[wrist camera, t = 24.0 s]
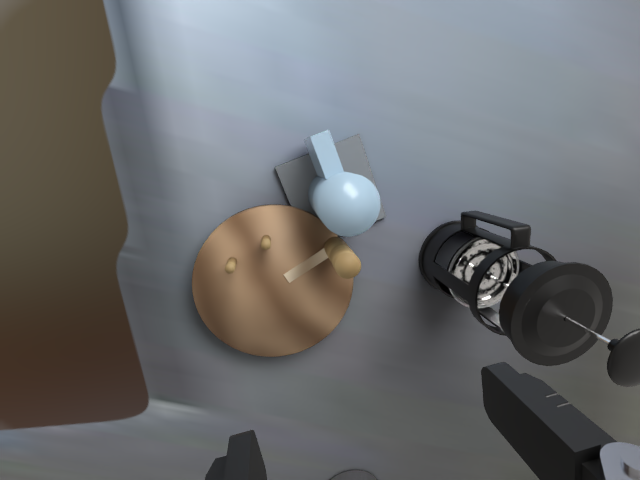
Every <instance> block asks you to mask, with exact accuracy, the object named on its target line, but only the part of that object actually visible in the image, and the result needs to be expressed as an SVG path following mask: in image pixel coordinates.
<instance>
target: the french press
mask: <svg viewBox="0 0 640 480" xmlns="http://www.w3.org/2000/svg"><path fill="white" fill-rule="evenodd" d="M476 219H477V220H481V221H484V222H487V223H490V224H494V225H497V226H500V227H503V228H506V229H509V230H511V240H510V239H507V238H505V237H502V236H499V235H496V234H493V233H490V232H489V231H487V230H484V229H482V228H479V227H478V226H476ZM461 231H463V232H467V233H469V234H471V235H472V236H474V238H473V239H471V240H469V241H468V242H466V243H465V244H464V245H462V246H461V247H460V248H459V249H458V250H457V251H456V253H455V254H454V255H453V257H452V259H451V261H450V263H449V265H448V268H447V270H446V269H444V268H443V267H441V266H440V265H438V264H437V263H435V259H436V256H437V253H438V251H439V249H440V248H441V247H442V245H443V244H444V243H445V242H446V241H447V240H448V239H449V238H450V237H451V236H453V235H454V234H456V233H458V232H461ZM530 235H531V227H530V226H529V225H527V224H523V223H520V222H516V221H512V220H509V219H505V218H501V217H497V216H494V215H490V214H486V213H483V212H479V211H469V212H462V213H461V221H451V222H447V223H445V224H442V225H440V226H439V227H437V228H436V229H434V230H433V231H432V232H431V233H430V234H429V236H428V237H427V238H426V240H425V241H424V243H423V245H422V248H421V251H420V256H419V265H420V270H421V273H422V275H423V277H424V278H425V280H426V281H427V282H428V283H429V284H430V285H431V286H433V287H434V288H436V289H438V290H440V291H441V292H443V293H444V294H446V295H447V296H449V297H452V298H455V299H456V300H457V301H458V302H459V303H461V304H462V305H464V306H467V307H470V310H471V312H472V314H473V315H474V317H475V318H476V319H477V320H478V321H479V322H480V323H481V324H483V325H484V326H485V327H486V328H488V329H489V330H491V331H492V332H494V333H497V334H500V335H505V336H507V337H508V338H509V339H510V340H511V342H512V344H513V345H514V347H515V349H516V350H517V351H518V352H519V354H520V355H521V356H523V357H524V358H525V359H527V360H529V361H530V362H532V363H535V364H538V365H545V366H553V365H560V364H563V363H567V362H569V361H572V360H574V359H576V358H578V357H579V356H581V355H582V354H584V353H585V352H586V351H587V350H589V349H590V348H591V347H592V346H593V345H594V344H595V343H596V342H597V340H598V339H599V340H600V341H602V342H604V343H606V344H608V349H609V350H610V351H611V353H610V355H609V358H608V362H607V370H608V374H609V376H610V378H611V380H612V381H613V382H614V383H616V384H618V385H620V386H625V387H632V386H637V385H640V329H637V330H634V331H632V332H630V333H628V334H626V335H625V336H624V337H622V338H621V339H620V340H618V339H613V340H609V339H607V338H606V337H604V336H602V333H603V332H604V330H605V329H606V326H607V324H608V322H609V319H610V316H611V312H612V302H613V298H612V292H611V288H610V286H609V283H608V281H607V280H606V278H605V277H604V276H603V274H602V273H600V272H599V271H598V270H597V269H595V268H593V267H591V266H588V265H586V264H581V263H576V262H571V263H563V262H558V261H556V260H555V258H554V257H553V256H552V255H551V254H549V253H548V252H546V251H544V250H542V249H540V248H537V247H534V246H531V245H530ZM522 249H534V250H536V251H538V252H539V253H540V254H541V255H542V256H543V257H544V258H545V260H546V261H545V262H540V263H537V264H535V265H530V264H528V263H526V262H523V261H521V260H519V259H518V255H517V253H516V251H517V250H522ZM500 300H501V303H500V309H499V313H497V312H496V311H494V310H493V309H492V308H490V307H489V306H491V305H494V304H496V303H497V302H499V301H500ZM480 315H482V316H483V317H484V318H486V319H487V320H488V321H490V322H491V323H492V324H493V325H495V326H496V327H492V326H490V325H487V324H485V322H484V321H483V320H482V318H481V316H480Z"/></svg>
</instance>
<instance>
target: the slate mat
mask: <svg viewBox="0 0 640 480" xmlns="http://www.w3.org/2000/svg"><path fill="white" fill-rule="evenodd" d="M334 145H335V148H336V151H337V153H338V156H339V159H340V162H341V165H342V167H343V170H344V172H349V173H353V174H358V175H361V176H364V177H365V178H367V179H368V180H370V181H371V182H372V183H373V184H374V186H375V187H376V184H375V181H374V178H373V174H372V171H371V168H370V165H369V162H368V159H367V156H366V153H365V150H364V147H363V144H362V141H361V138H360V135H359V134H357V135H355V136H352V137H350V138H347V139H345V140H342V141H340V142H337V143H335V144H334ZM275 169H276V171H277V173H278V176H279V178H280V181H281V183H282V186H283V188H284V191H285V193H286V196H287V198H288V200H289V203H290V205H291V206H292V207H296V208H300V209H302V210H305V211H307V212H310V213H311V214H313V215H315V216H317V214H316V213H315V212H314V210H313V209H312V207H311V206H310V203H309V200H308V189H309V186H310V184H311V182H312V180H313V179H314V178H315V177H316V176H317V173H316V170H315V168H314V165H313V162H312V160H311V157H310V155H309V154H307V155H304V156H302V157H299V158H297V159H294V160H292V161H289V162H287V163H284V164H282V165H279V166H277V167H275ZM376 189H377V187H376ZM317 217H318V216H317ZM384 217H386V214H385V211H384V208H383V205H382V202H381V199H380V212H379V215H378V217H377V219H376V221H377V220H379V219H382V218H384ZM318 218H319V217H318ZM337 236H340V235H337Z"/></svg>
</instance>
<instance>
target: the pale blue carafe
mask: <svg viewBox="0 0 640 480" xmlns="http://www.w3.org/2000/svg"><path fill="white" fill-rule="evenodd" d="M304 142H305V144H306V147H307V149H308V152H309V155H310V157H311V160H312V162H313V165H314V168H315V170H316V173H317V176H316V177H315V178H314V179H313V180H312V182H311V184H310V186H309V189H308V200H309V203H310V206H311V207H312V209H313V210H314V212H315V213H316V214H317V216H318V217H319V218H320V220H321V221H322V222H323V223H324V225H325V226H326V227H327V228H328V229H329V230H330V231H332V232H333V233H335V234H337V235H340V236H347V237H350V236H356V235H359V234H362V233H364V232H365V231H367V230H368V229H369V228H370V227H371V226H372V225H373V224H374V223H375V221H376V219H377V217H378V215H379V212H380V196H379V193H378V190H377V189H376V187H375V186H374V184H373V183H372V182H371V181H370V180H368V179H367V178H365V177H364V176H361V175H358V174H353V173H349V172H344V170H343V167H342V165H341V162H340V159H339V156H338V153H337V151H336V148H335V145H334V142H333V140H332V137H331V134H330V131H329V129H328V130H326V131H324V132H321V133H319V134H316V135H314V136H311V137H309V138H307V139H305V140H304Z"/></svg>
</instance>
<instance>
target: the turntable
mask: <svg viewBox="0 0 640 480" xmlns="http://www.w3.org/2000/svg"><path fill="white" fill-rule="evenodd" d="M360 269H361V262H360V260H359V259H358V257H357V256H356V255H355V254H354V253H353V251H352V250H351V249H350V248H349V247H348V245H347V244H346V243H345V242H344V241H343V240H342V239H341V238H340V237H338V236H337V234H335V233H333V232H332V231H330V230H329V229H328V228H327V227H326V226H325V225H324V223H323V222H322V221H321V220H320V218H318V217H317V216H315V215H313V214H311V213H310V212H307V211H305V210H302V209H300V208H296V207H292V206H287V205H262V206H256V207H252V208H248V209H246V210H243V211H241V212H238V213H237V214H235V215H233V216H231V217H230V218H228V219H227V220H225V221H224V222H223V223H221V224H220V225H219V226H218V227H217V228H216V229H215V230H214V231H213V232H212V234H211V235H210V236H209V237H208V239H207V240H206V241H205V243H204V244H203V246H202V248H201V250H200V251H199V253H198V256H197V259H196V261H195V265H194V269H193V276H192V291H193V297H194V302H195V305H196V307H197V310H198V313H199V314H200V316H201V318H202V320H203V322H204V323H205V324H206V326H207V327H208V328H209V330H210V331H211V332H212V333H213V334H214V335H215V336H216V337H218V338H219V339H220V340H221V341H223V342H224V343H226V344H227V345H229V346H231V347H232V348H235V349H237V350H239V351H241V352H245V353H248V354H252V355H257V356H267V357H275V356H285V355H290V354H294V353H297V352H301V351H303V350H305V349H308V348H310V347H312V346H313V345H315V344H317V343H318V342H320V341H321V340H322V339H324V338H325V337H326V336H327V335H329V334H330V333H331V332H332V331H333V330H334V328H335V327H336V326H337V325H338V324H339V322H340V321H341V319H342V318H343V316H344V314H345V312H346V310H347V308H348V306H349V302H350V299H351V295H352V290H353V277H355V276H356V275H357V274H358V273H359V272H360Z"/></svg>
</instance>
